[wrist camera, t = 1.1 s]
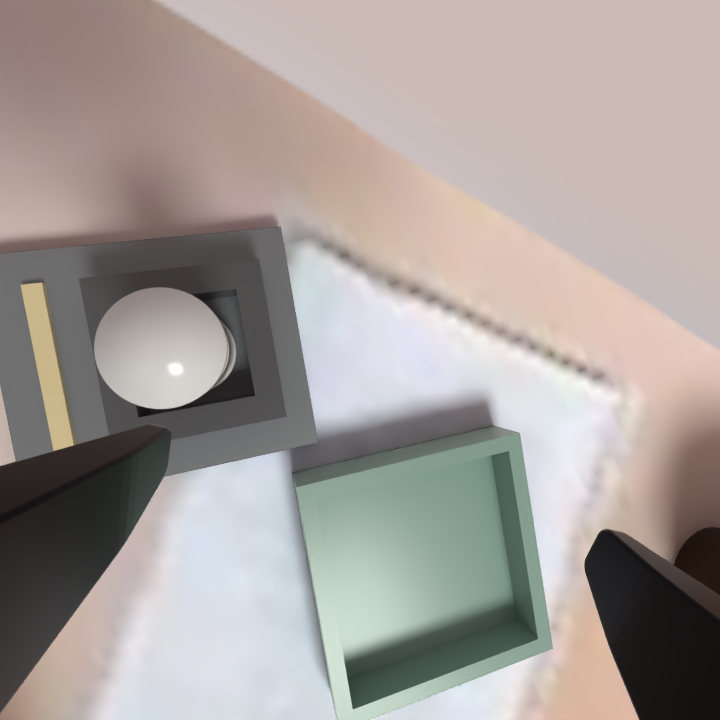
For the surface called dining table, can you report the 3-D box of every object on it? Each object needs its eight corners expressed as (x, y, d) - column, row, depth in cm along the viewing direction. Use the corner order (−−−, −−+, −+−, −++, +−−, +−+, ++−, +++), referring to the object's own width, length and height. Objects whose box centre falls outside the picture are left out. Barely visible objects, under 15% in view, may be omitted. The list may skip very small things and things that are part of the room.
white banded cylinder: (159, 399, 19) (106, 419, 13) (144, 318, 19) (83, 295, 13) (243, 384, 20) (235, 396, 14) (229, 307, 20) (214, 279, 13)
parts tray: (330, 691, 22) (339, 731, 20) (292, 473, 22) (296, 487, 19) (524, 620, 25) (552, 648, 23) (493, 425, 25) (519, 433, 22)
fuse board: (37, 499, 19) (-3, 525, 16) (-11, 261, 19) (-61, 243, 16) (315, 439, 22) (324, 451, 19) (279, 232, 22) (282, 212, 19)
